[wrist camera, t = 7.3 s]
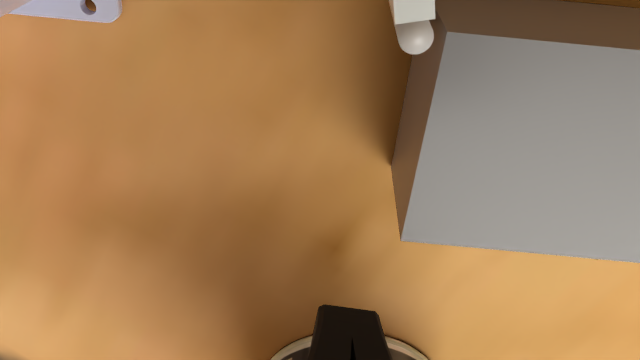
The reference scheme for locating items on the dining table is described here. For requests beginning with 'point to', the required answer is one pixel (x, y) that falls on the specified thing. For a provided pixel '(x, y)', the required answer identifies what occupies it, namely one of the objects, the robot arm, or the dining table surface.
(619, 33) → the camera case
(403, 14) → the side door
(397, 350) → the coffee can
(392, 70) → the dining table surface
